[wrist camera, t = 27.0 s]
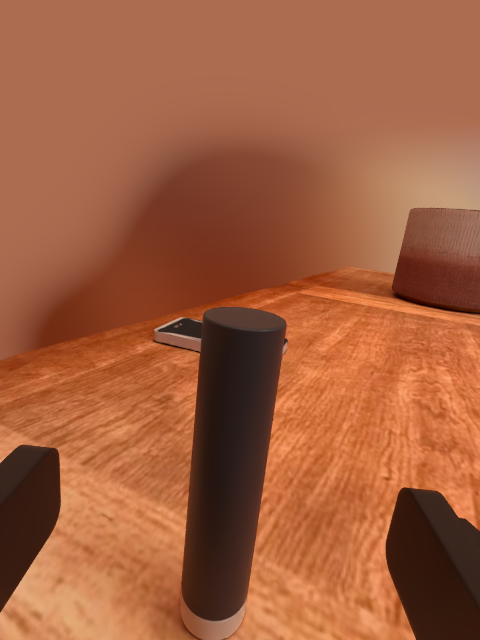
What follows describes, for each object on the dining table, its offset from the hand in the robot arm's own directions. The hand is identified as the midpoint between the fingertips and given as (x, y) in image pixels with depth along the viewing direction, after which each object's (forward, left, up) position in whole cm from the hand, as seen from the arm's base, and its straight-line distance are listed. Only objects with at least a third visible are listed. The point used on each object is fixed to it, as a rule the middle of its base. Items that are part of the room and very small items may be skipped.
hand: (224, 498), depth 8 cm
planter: (+94, +33, -9) cm, 100 cm away
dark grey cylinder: (+2, +3, -9) cm, 9 cm away
